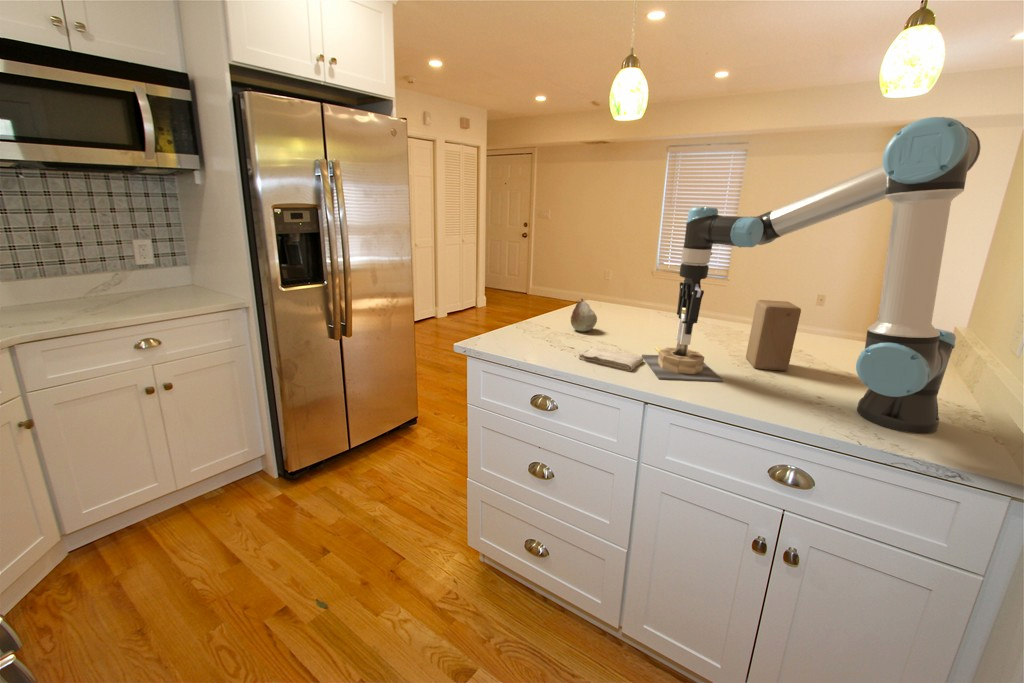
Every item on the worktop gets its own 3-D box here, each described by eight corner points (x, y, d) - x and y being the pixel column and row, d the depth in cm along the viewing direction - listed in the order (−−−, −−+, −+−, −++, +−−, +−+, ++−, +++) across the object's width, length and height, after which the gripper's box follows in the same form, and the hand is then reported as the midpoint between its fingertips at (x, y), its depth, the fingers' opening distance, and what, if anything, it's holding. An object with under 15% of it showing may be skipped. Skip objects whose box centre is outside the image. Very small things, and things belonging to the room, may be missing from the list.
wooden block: (788, 372, 139) (803, 308, 133) (753, 369, 141) (766, 305, 135) (777, 361, 148) (790, 301, 143) (744, 358, 150) (755, 298, 144)
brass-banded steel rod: (687, 361, 137) (695, 309, 132) (676, 361, 137) (684, 309, 133) (683, 358, 140) (691, 307, 136) (673, 357, 140) (680, 306, 136)
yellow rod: (663, 356, 150) (664, 353, 150) (661, 356, 150) (661, 353, 150) (656, 348, 158) (657, 345, 158) (654, 348, 158) (654, 345, 158)
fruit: (582, 325, 184) (585, 296, 180) (601, 331, 177) (604, 300, 173) (565, 329, 177) (567, 299, 174) (583, 335, 171) (586, 303, 167)
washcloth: (591, 351, 154) (592, 342, 153) (644, 363, 145) (645, 353, 144) (576, 361, 144) (577, 351, 144) (631, 373, 135) (632, 364, 134)
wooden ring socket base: (722, 381, 130) (725, 366, 128) (658, 379, 130) (660, 364, 129) (697, 358, 149) (699, 345, 148) (641, 356, 149) (643, 342, 148)
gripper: (719, 268, 122) (705, 351, 129) (698, 260, 138) (686, 335, 145) (691, 267, 122) (678, 350, 130) (673, 259, 138) (662, 334, 145)
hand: (682, 342), depth 137 cm, fingers closed on brass-banded steel rod, 3 cm apart
